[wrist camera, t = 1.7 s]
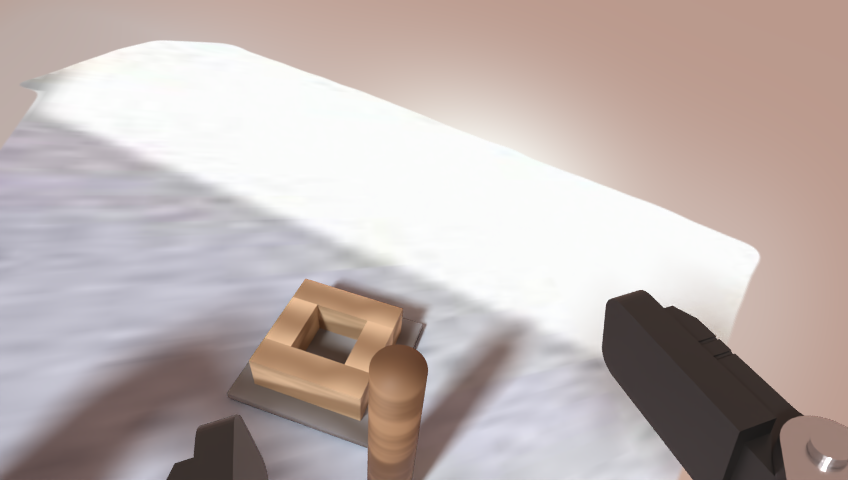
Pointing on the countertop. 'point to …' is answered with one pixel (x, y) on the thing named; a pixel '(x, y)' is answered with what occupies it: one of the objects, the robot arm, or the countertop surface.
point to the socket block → (323, 359)
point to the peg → (394, 411)
